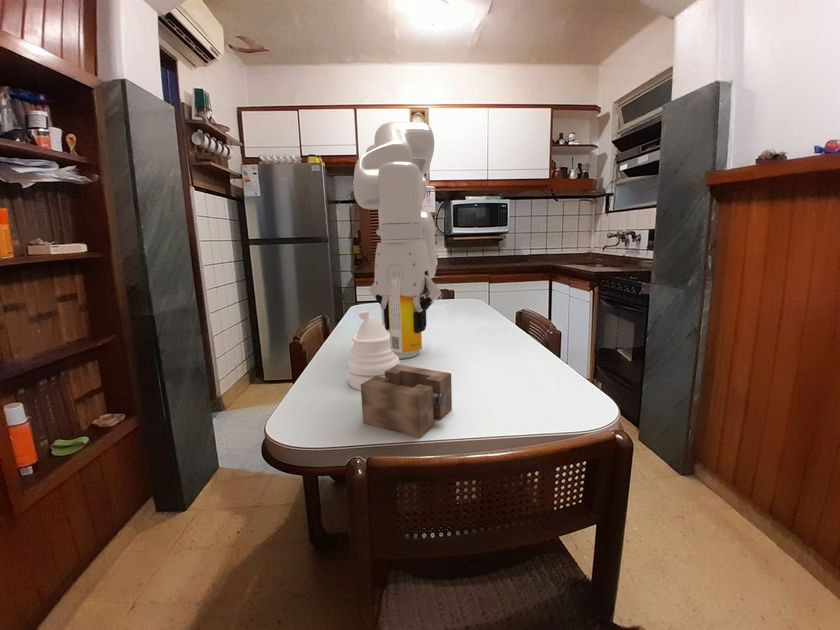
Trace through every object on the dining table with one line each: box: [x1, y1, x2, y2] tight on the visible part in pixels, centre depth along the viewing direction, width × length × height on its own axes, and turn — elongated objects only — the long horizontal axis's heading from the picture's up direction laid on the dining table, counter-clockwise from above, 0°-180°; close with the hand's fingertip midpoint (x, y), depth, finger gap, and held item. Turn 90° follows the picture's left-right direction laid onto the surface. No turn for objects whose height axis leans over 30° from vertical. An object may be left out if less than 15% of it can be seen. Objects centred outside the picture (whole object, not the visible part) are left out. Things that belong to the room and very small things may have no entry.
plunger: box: [433, 392, 446, 407], centre depth 77 cm, size 5×3×3 cm, turn 60°
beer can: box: [388, 279, 423, 356], centre depth 76 cm, size 6×6×15 cm
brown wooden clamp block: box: [360, 363, 453, 439], centre depth 80 cm, size 13×13×8 cm
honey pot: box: [347, 310, 401, 391], centre depth 99 cm, size 13×13×18 cm
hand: (405, 329), depth 77 cm, fingers closed on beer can, 5 cm apart
